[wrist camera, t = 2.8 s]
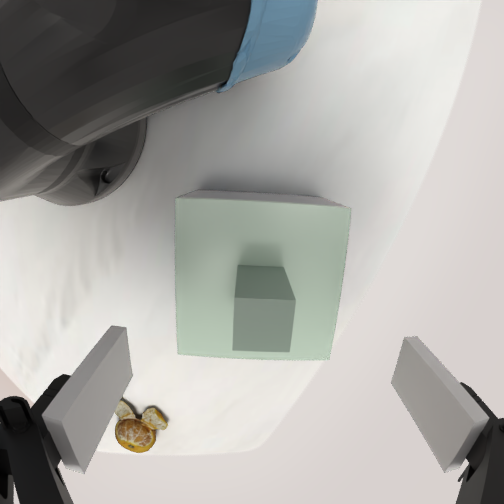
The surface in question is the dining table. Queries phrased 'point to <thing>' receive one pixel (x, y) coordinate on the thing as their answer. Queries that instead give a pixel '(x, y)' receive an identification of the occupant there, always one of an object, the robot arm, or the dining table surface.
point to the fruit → (137, 428)
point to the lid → (258, 277)
